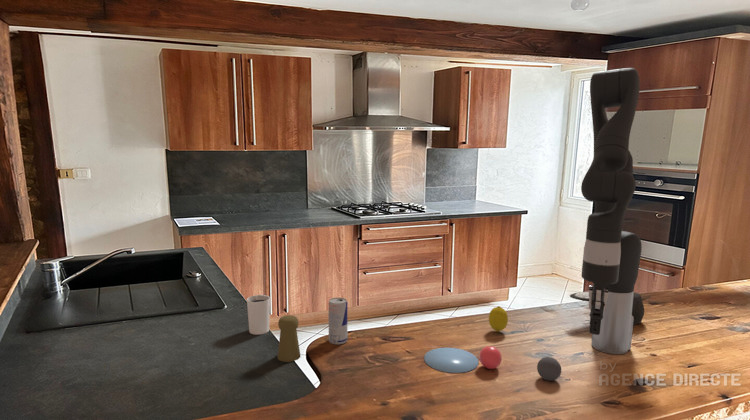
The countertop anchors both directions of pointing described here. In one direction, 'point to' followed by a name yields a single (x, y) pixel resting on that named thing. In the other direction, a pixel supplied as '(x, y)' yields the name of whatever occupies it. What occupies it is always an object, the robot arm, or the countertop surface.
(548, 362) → the gray ball
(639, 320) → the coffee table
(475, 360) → the blue mark
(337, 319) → the energy drink
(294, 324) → the cork
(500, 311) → the lemon
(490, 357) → the red ball
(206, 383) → the countertop surface
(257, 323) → the white cup
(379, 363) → the countertop surface
